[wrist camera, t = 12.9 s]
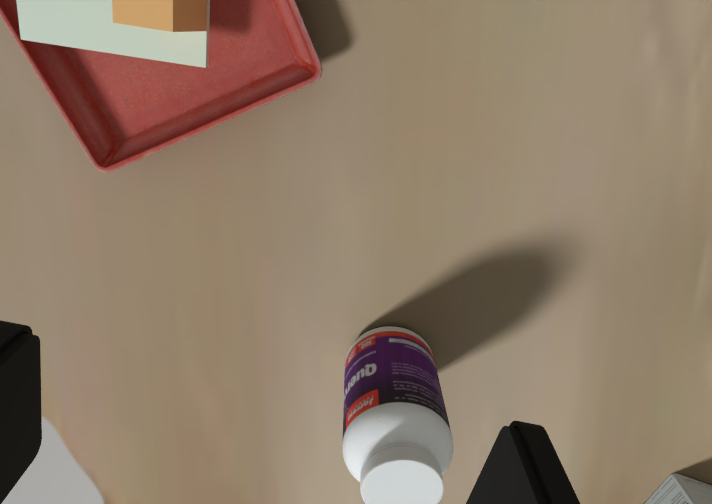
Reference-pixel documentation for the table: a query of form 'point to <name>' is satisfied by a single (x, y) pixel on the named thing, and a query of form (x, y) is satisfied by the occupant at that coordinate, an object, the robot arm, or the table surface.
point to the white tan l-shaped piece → (122, 27)
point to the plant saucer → (174, 80)
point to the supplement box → (681, 491)
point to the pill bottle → (395, 419)
